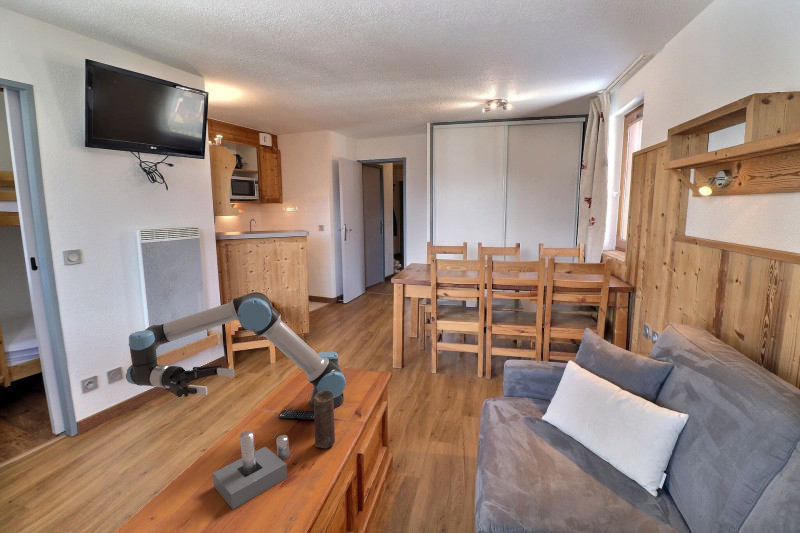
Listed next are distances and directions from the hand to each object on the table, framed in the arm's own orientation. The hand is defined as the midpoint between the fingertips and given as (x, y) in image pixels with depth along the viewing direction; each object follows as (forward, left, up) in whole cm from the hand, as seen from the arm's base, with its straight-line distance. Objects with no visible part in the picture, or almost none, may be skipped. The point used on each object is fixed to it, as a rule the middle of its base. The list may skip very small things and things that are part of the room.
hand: (220, 381), depth 130 cm
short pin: (-14, +12, -30) cm, 35 cm away
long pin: (0, +16, -30) cm, 34 cm away
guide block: (0, +16, -30) cm, 34 cm away
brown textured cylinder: (-28, +18, -30) cm, 45 cm away
